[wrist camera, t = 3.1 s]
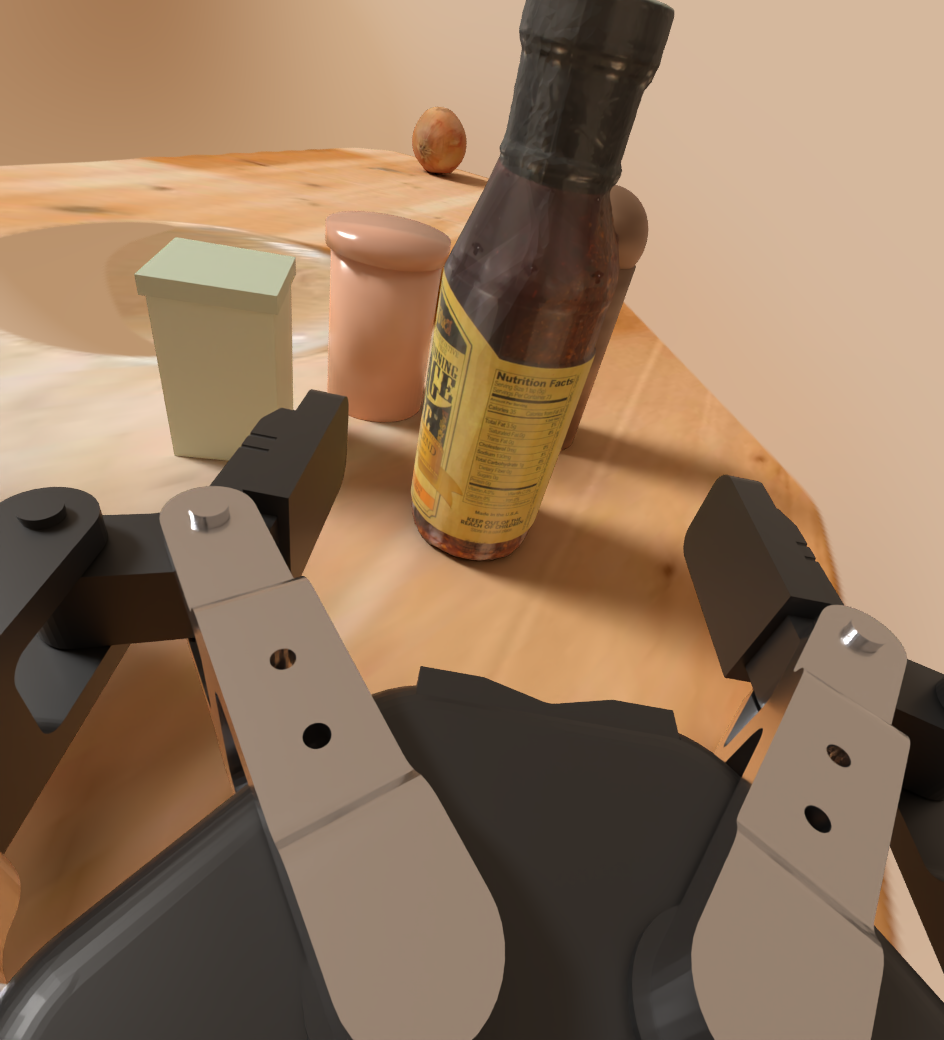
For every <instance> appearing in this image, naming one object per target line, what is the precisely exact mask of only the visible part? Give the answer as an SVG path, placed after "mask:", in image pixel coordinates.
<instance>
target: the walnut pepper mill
mask: <svg viewBox="0 0 944 1040" xmlns="http://www.w3.org/2000/svg"><path fill="white" fill-rule="evenodd" d="M610 201H611V206H612V214H613V219H614V221H613V225H614V228H615V231H616V233H617V234H618V235H619V265H620V269H619V276H618V281H617V287H616V289H615V293H614V297H613V300H612V302H611V303H610V305H609V308H608V311H607V313H606V317H605V320H604V322H603V325H602V327H601V330H600V334H599V337H598V339H597V342H596V345H595V348H596V353H595V357H594V360H593V362H592V365H591V368H590V371H589V373H588V376H587V379H586V382H585V384H584V387H583V390H582V393H581V395H580V398H579V401H578V404H577V406H576V409H575V412H574V415H573V417H572V420H571V423H570V426H569V428H568V431H567V434H566V437H565V439H564V442H563V445H562V448H561V450H563V449H566V448H568V447H569V446H570V445H571V444H572V442H573V439H574V437H575V434H576V431H577V428H578V426H579V423H580V420H581V417H582V415H583V412H584V409H585V406H586V404H587V401H588V398H589V395H590V392H591V390H592V387H593V384H594V381H595V379H596V376H597V373H598V370H599V368H600V365H601V362H602V359H603V357H604V354H605V351H606V348H607V345H608V343H609V340H610V337H611V334H612V332H613V329H614V326H615V323H616V321H617V318H618V315H619V312H620V310H621V307H622V304H623V301H624V298H625V296H626V293H627V290H628V287H629V285H630V282H631V279H632V276H633V273H634V271H635V268H636V266H635V264H636V263H637V262H638V260H639V259H640V257H641V255H642V253H643V251H644V248H645V246H646V242H647V237H648V220H647V216H646V212H645V210H644V208H643V206H642V204H641V202H640V201H639V199H638V198H637V197H636V196H635V195H634V194H633V193H632V192H630V191H629V190H627V189H625V188H623V187H621V186H618V185H615V186H613V187H612V189H611V191H610Z"/></svg>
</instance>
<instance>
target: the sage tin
mask: <svg viewBox="0 0 944 1040" xmlns="http://www.w3.org/2000/svg"><path fill="white" fill-rule="evenodd" d="M134 275H135V280H136V286H137V291H138V295H144V296H146V300H147V306H148V311H149V317H150V322H151V328H152V334H153V339H154V345H155V349H156V356H157V361H158V367H159V372H160V378H161V383H162V389H163V394H164V400H165V405H166V411H167V416H168V422H169V427H170V433H171V438H172V444H173V449H174V455H175V456H185V457H195V458H206V459H216V460H227V461H229V460H230V459H231V457H232V456H233V455H234V453H235V452H236V451H237V449H238V448H239V447H241V444H242V443H243V441H244V440H245V439H246V437H247V436H248V435H250V432H251V431H252V430H253V428H254V427H255V426H256V424H257V423H258V422H259V420H260V419H261V418H262V417H264V416H266V415H268V414H270V413H272V412H274V411H276V410H278V409H279V408H285V409H290V410H293V370H292V309H291V284H292V282H293V279H294V277H295V275H296V257H291V256H285V255H279V254H273V253H267V252H261V251H255V250H249V249H243V248H237V247H231V246H225V245H219V244H213V243H207V242H201V241H195V240H189V239H183V238H177V237H175V238H174V239H173V240H172V241H171V242H170V243H169V244H168V245H166V246H165V247H164V248H163V249H162V250H161V251H160V252H159V253H158V254H156V255H155V256H154V257H153V258H152V259H151V260H150V261H149V262H147V263H146V264H145V265H144V266H143V267H142V268H141V269H140V270H139V271H137V272H136V273H135V274H134Z"/></svg>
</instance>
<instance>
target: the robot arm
mask: <svg viewBox="0 0 944 1040" xmlns="http://www.w3.org/2000/svg"><path fill="white" fill-rule="evenodd" d="M348 413H349V402H348V397H347V396H342V395H337V394H332V393H327V392H322V391H317V390H312V389H311V390H310V391H309V392H308V393H307V395H306V396H305V398H304V399H303V401H302V402H301V404H300V405H299V406H298V408H297V409H296V411H295V410H290V409H285V408H279V409H278V410H276V411H274V412H272V413H270V414H268V415H266V416H264V417H262V418H261V419H260V420H259V422H258V423H257V424H256V426H255V427H254V428H253V430H252V431H251V432H250V435H248V436H247V437H246V439H245V440H244V441H243V443H242V444H241V447H239V448H238V449H237V451H236V452H235V453H234V455H233V456H232V457H231V459H230V460H229V461H228V462H227V464H226V465H225V466H224V468H223V469H222V470H221V472H220V473H219V474H218V476H217V477H216V478H215V480H214V481H213V482H212V484H211V485H210V486H206V487H199V488H194V489H190V490H187V491H185V492H182V493H180V494H178V495H176V496H175V497H173V498H172V499H170V500H169V501H168V502H167V503H166V504H165V505H164V507H163V508H162V510H161V512H160V513H153V514H130V515H102V513H101V510H100V506H99V503H98V502H97V500H96V499H95V498H94V497H93V496H92V495H90V494H88V493H87V492H84V491H81V490H78V489H74V488H66V487H48V488H40V489H34V490H30V491H26V492H23V493H20V494H17V495H14V496H12V497H10V498H8V499H6V500H4V501H2V502H1V503H0V1040H944V1002H943V1001H942V1000H940V998H939V997H938V996H937V995H936V994H935V993H934V991H933V990H932V989H931V988H930V987H929V986H928V985H927V984H926V982H925V981H924V980H923V979H922V978H921V977H920V976H919V975H918V974H917V973H916V971H915V970H914V969H913V968H912V967H911V966H910V965H909V964H908V962H907V961H906V960H905V959H904V958H903V957H902V956H901V955H900V954H899V952H898V951H897V950H896V949H895V948H894V947H893V946H892V945H891V944H890V942H889V941H888V940H887V939H886V938H885V937H884V936H883V935H882V934H881V932H880V931H879V930H878V929H877V928H876V927H875V926H874V919H875V914H876V909H877V904H878V899H879V894H880V890H881V885H882V880H883V875H884V870H885V865H886V860H887V856H888V851H889V846H890V848H891V850H892V852H893V855H894V857H895V860H896V862H897V864H898V867H899V869H900V871H901V874H902V876H903V878H904V881H905V883H906V885H907V888H908V890H909V893H910V895H911V897H912V900H913V902H914V904H915V907H916V909H917V911H918V914H919V916H920V919H921V921H922V923H923V926H924V928H925V930H926V933H927V935H928V937H929V940H930V942H931V945H932V947H933V949H934V951H935V954H936V956H937V958H938V961H939V963H940V966H941V968H942V971H943V973H944V674H942V673H939V672H937V671H935V670H932V669H930V668H927V667H925V666H923V665H920V664H918V663H915V662H913V661H911V660H908V659H907V656H906V652H905V650H904V647H903V646H902V644H901V642H900V641H899V640H898V639H897V637H896V636H895V635H894V634H893V633H892V632H891V631H890V630H889V629H888V628H887V627H886V626H884V625H883V624H882V623H880V622H879V621H878V620H876V619H875V618H873V617H871V616H870V615H868V614H866V613H864V612H862V611H860V610H857V609H855V608H851V607H848V606H844V604H843V603H842V601H841V599H840V598H839V596H838V594H837V593H836V591H835V589H834V588H833V586H832V584H831V583H830V581H829V579H828V578H827V576H826V574H825V573H824V571H823V569H822V568H821V566H820V564H819V563H818V562H816V561H815V559H816V558H815V556H814V554H813V553H812V551H811V549H810V548H809V547H807V543H806V541H805V539H804V538H803V536H802V534H801V533H800V531H799V529H798V528H797V526H796V525H795V524H794V523H793V522H792V521H791V520H790V519H789V518H787V517H786V516H785V515H784V514H783V513H782V512H781V511H780V510H779V509H777V508H776V507H775V505H774V503H773V501H772V500H771V498H770V496H769V494H768V493H767V491H766V489H765V488H764V486H763V484H762V483H760V482H758V481H754V480H749V479H744V478H739V477H734V476H729V475H722V476H721V477H719V478H718V479H717V480H716V481H715V483H714V485H713V486H712V488H711V490H710V491H709V493H708V495H707V497H706V498H705V500H704V502H703V504H702V505H701V507H700V509H699V511H698V512H697V514H696V516H695V517H694V519H693V521H692V523H691V524H690V526H689V528H688V530H687V533H686V536H685V540H684V557H685V560H686V563H687V566H688V569H689V572H690V575H691V578H692V581H693V584H694V587H695V590H696V593H697V596H698V599H699V602H700V605H701V608H702V611H703V614H704V617H705V620H706V623H707V626H708V629H709V632H710V635H711V638H712V641H713V644H714V647H715V650H716V653H717V656H718V659H719V662H720V666H721V669H722V672H723V675H724V677H725V678H730V679H736V680H741V681H747V682H751V684H752V687H753V689H752V690H751V691H750V692H749V693H748V695H747V696H746V697H745V698H744V699H743V701H742V703H741V705H740V707H739V708H738V710H737V712H736V714H735V716H734V717H733V719H732V721H731V723H730V725H729V726H728V728H727V730H726V732H725V734H724V735H723V737H722V739H721V741H720V743H719V744H718V746H717V748H716V750H715V752H714V753H712V752H711V751H709V750H708V749H706V748H705V747H703V746H702V745H700V744H699V743H697V742H695V741H693V740H691V739H689V738H687V737H686V736H684V735H682V734H680V733H678V730H677V726H676V722H675V717H674V713H673V710H667V709H661V708H656V707H650V706H644V705H639V704H633V703H627V702H622V701H616V700H603V701H589V702H575V703H560V704H550V703H546V702H543V701H540V700H538V699H535V698H533V697H530V696H528V695H526V694H523V693H521V692H518V691H516V690H513V689H511V688H509V687H506V686H504V685H501V684H499V683H497V682H494V681H492V680H489V679H487V678H485V677H480V676H474V675H468V674H463V673H457V672H451V671H446V670H440V669H434V668H428V667H423V666H421V667H420V671H419V676H418V681H417V685H416V686H403V687H398V688H393V689H388V690H385V691H381V692H378V693H375V694H372V695H371V694H370V692H369V690H368V688H367V686H366V684H365V682H364V681H363V679H362V677H361V675H360V673H359V671H358V669H357V668H356V666H355V664H354V662H353V660H352V658H351V656H350V655H349V653H348V651H347V649H346V647H345V645H344V643H343V642H342V640H341V638H340V636H339V634H338V632H337V630H336V629H335V627H334V625H333V623H332V621H331V619H330V617H329V616H328V614H327V612H326V610H325V608H324V606H323V604H322V603H321V601H320V599H319V597H318V595H317V593H316V591H315V590H314V588H313V586H312V584H311V583H310V581H309V580H308V579H307V578H306V577H304V576H301V575H302V573H303V571H304V568H305V566H306V564H307V562H308V559H309V557H310V555H311V553H312V550H313V548H314V546H315V544H316V541H317V539H318V537H319V535H320V532H321V530H322V528H323V525H324V523H325V521H326V519H327V516H328V514H329V512H330V510H331V507H332V505H333V503H334V501H335V498H336V496H337V494H338V492H339V489H340V487H341V484H342V480H343V476H344V471H345V465H346V452H347V432H348ZM185 638H186V640H187V643H188V646H189V649H190V652H191V655H192V659H193V662H194V665H195V668H196V671H197V674H198V677H199V681H200V684H201V687H202V690H203V693H204V696H205V699H206V703H207V706H208V709H209V712H210V715H211V718H212V722H213V725H214V728H215V732H216V736H217V740H218V743H219V747H220V751H221V755H222V758H223V762H224V765H225V768H226V772H227V775H228V778H229V781H230V785H231V788H232V791H233V794H234V795H233V796H232V797H230V798H229V799H228V800H226V801H225V802H224V803H223V804H221V805H220V806H219V807H218V808H216V809H215V810H214V811H213V812H211V813H210V814H209V815H207V816H206V817H205V818H204V819H202V820H201V821H200V822H199V823H197V824H196V825H195V826H194V827H192V828H191V829H190V830H189V831H187V832H186V833H185V834H183V835H182V836H181V837H180V838H178V839H177V840H176V841H175V842H173V843H172V844H171V845H170V846H168V847H167V848H166V849H164V850H163V851H162V852H161V853H159V854H158V855H157V856H156V857H154V858H153V859H152V860H151V861H149V862H148V863H147V864H145V865H144V866H143V867H142V868H140V869H139V870H138V871H137V872H135V873H134V874H133V875H132V876H130V877H129V878H128V879H126V880H125V881H124V882H123V883H121V884H120V885H119V886H118V887H116V888H115V889H114V890H113V891H111V892H110V893H109V894H107V895H106V896H105V897H104V898H102V899H101V900H100V901H99V902H97V903H96V904H95V905H94V906H92V907H91V908H90V909H88V910H87V911H86V912H85V913H83V914H82V915H81V916H80V917H78V918H77V919H76V920H75V921H73V922H72V923H71V924H69V925H68V926H67V927H66V928H64V929H63V930H62V931H61V932H59V933H58V934H57V935H56V936H55V937H53V938H52V939H51V940H50V941H49V942H47V943H46V944H45V945H44V946H43V947H42V948H41V949H40V950H39V951H38V952H37V953H36V954H35V955H34V956H33V957H32V958H31V959H30V960H29V961H28V962H27V963H26V964H25V965H24V966H23V967H22V968H21V969H20V970H19V971H18V972H17V973H16V975H15V976H14V977H13V978H12V979H11V980H10V982H9V983H8V984H7V983H6V980H5V977H4V973H3V965H2V960H3V949H4V945H5V941H6V936H7V934H8V931H9V929H10V926H11V924H12V921H13V919H14V916H15V914H16V912H17V908H18V904H19V900H20V890H21V886H20V879H19V876H18V873H17V871H16V869H15V868H14V866H13V865H12V864H11V862H10V861H9V860H8V859H7V858H6V857H5V856H4V855H3V854H4V853H5V851H6V849H7V848H8V846H9V844H10V843H11V841H12V839H13V838H14V836H15V834H16V833H17V831H18V829H19V828H20V826H21V824H22V823H23V821H24V819H25V818H26V816H27V815H28V813H29V811H30V810H31V808H32V806H33V805H34V803H35V801H36V800H37V798H38V796H39V795H40V793H41V791H42V790H43V788H44V786H45V785H46V783H47V781H48V780H49V778H50V776H51V775H52V773H53V771H54V770H55V768H56V766H57V765H58V763H59V761H60V760H61V758H62V756H63V755H64V753H65V752H66V750H67V748H68V747H69V745H70V743H71V742H72V740H73V738H74V737H75V735H76V733H77V732H78V730H79V728H80V727H81V725H82V723H83V722H84V720H85V718H86V717H87V715H88V713H89V712H90V710H91V708H92V707H93V705H94V703H95V702H96V700H97V698H98V697H99V695H100V693H101V692H102V690H103V689H104V687H105V685H106V684H107V682H108V680H109V679H110V677H111V675H112V674H113V672H114V670H115V669H116V667H117V665H118V664H119V662H120V660H121V659H122V657H123V655H124V654H125V652H126V650H127V649H128V647H129V645H130V644H132V643H143V642H153V641H164V640H175V639H185Z"/></svg>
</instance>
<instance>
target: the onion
mask: <svg viewBox="0 0 944 1040" xmlns="http://www.w3.org/2000/svg"><path fill="white" fill-rule="evenodd" d="M412 146H413V151H414V154H415V156H416V158H417V160H418V161H419V163H420V164H421V165H422V166H423V168H424V169H425V170H427V171H429V172H432V173H451V172H453V171H454V170H455V169H456V168H457V167H458V165H459V164H460V163H461V162H462V160H463V158H464V155H465V152H466V135H465V131H464V128H463V126H462V124H461V122H460V120H459V119H458V117H457V116H456V115H455V114H454V113H453V112H452V111H451V110H449V109H447V108H443V107H433V108H430V109H428V110H426V111H425V113H424V114H423V115H422V116H421V117H420V119H419V121H418V122H417V124H416V126H415V129H414V132H413V138H412Z"/></svg>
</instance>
